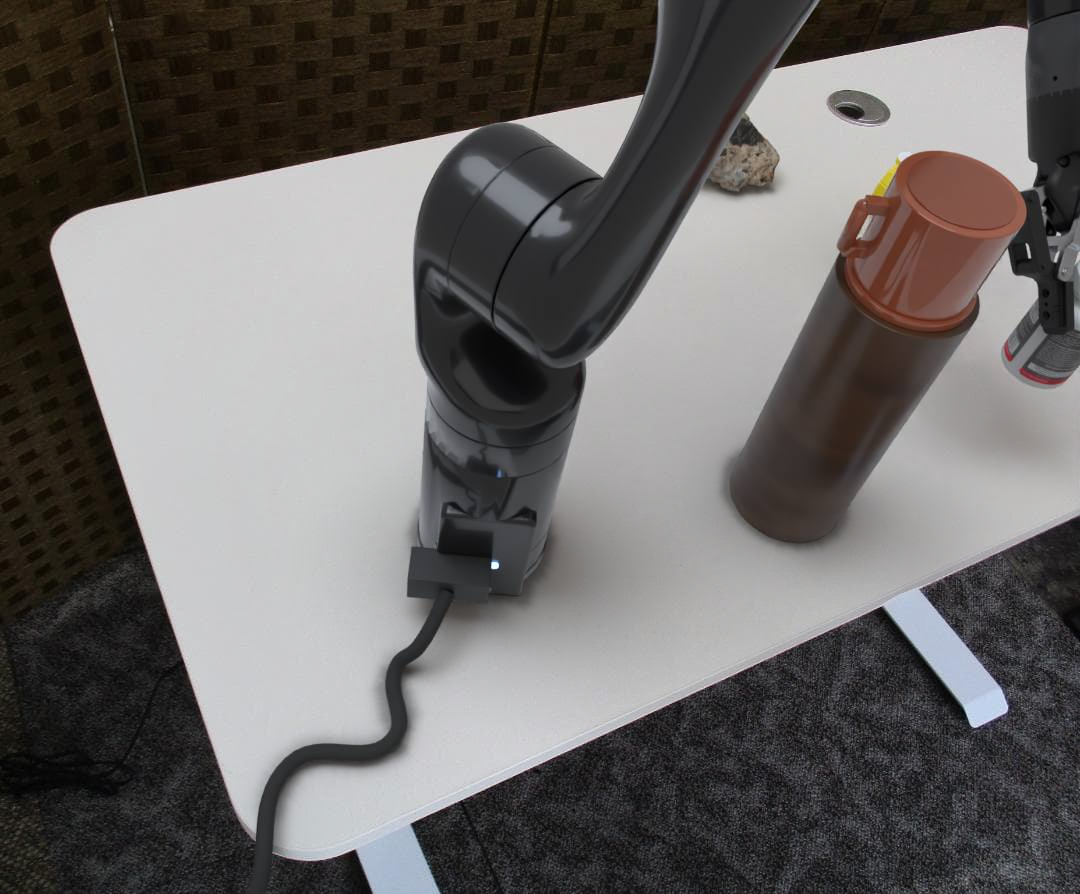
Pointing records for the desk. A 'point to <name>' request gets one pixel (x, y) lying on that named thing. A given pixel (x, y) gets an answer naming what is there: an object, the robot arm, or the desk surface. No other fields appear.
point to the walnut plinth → (834, 412)
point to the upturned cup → (930, 240)
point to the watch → (889, 175)
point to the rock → (745, 159)
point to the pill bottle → (1044, 348)
